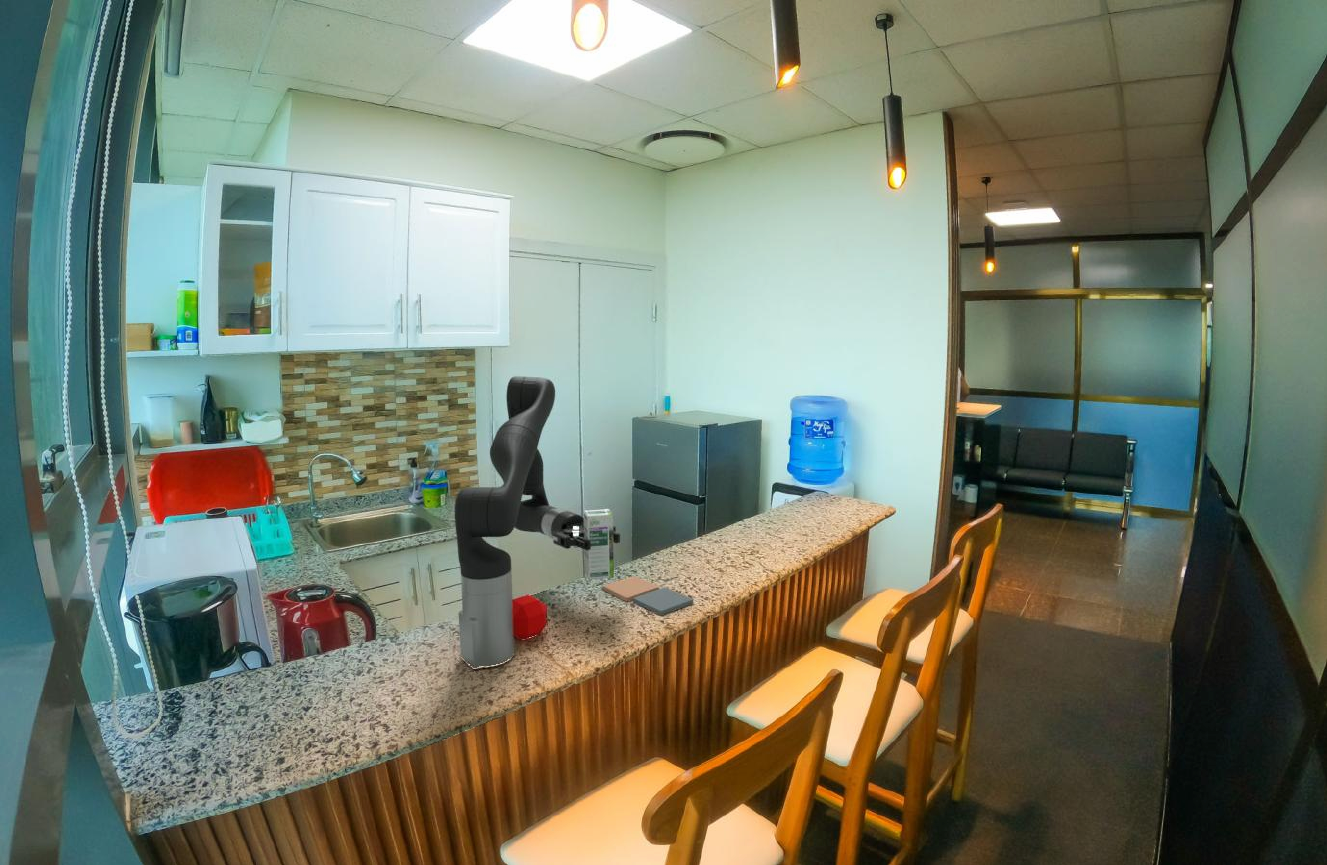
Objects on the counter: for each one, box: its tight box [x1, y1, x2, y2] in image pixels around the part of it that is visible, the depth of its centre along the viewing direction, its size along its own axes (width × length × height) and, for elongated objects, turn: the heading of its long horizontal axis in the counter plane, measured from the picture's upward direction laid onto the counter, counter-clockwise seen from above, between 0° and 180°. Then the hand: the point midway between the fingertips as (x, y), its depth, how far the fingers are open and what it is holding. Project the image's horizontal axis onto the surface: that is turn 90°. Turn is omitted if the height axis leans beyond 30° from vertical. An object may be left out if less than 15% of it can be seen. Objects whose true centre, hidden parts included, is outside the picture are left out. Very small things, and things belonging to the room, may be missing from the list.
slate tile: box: [632, 586, 694, 616], centre depth 145 cm, size 10×10×1 cm
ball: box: [512, 594, 549, 640], centre depth 129 cm, size 8×8×8 cm
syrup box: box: [583, 508, 615, 581], centre depth 138 cm, size 6×6×14 cm
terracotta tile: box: [601, 575, 660, 603], centre depth 153 cm, size 10×10×1 cm
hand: (604, 542), depth 137 cm, fingers closed on syrup box, 7 cm apart
